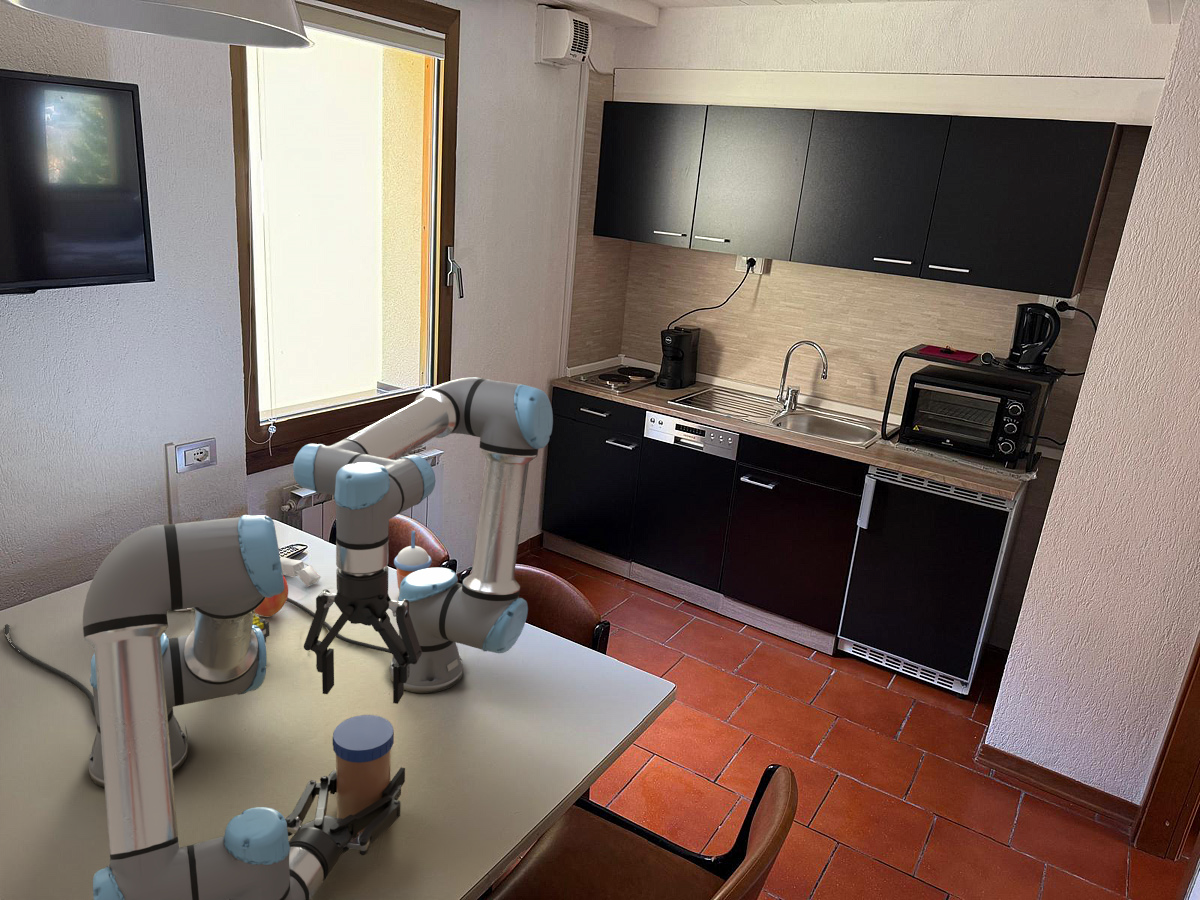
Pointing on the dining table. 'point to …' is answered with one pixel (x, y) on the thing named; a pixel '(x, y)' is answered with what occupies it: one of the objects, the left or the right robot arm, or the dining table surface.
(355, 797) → the jar
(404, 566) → the cup with straw
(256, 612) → the apple
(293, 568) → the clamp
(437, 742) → the dining table surface
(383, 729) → the lid
